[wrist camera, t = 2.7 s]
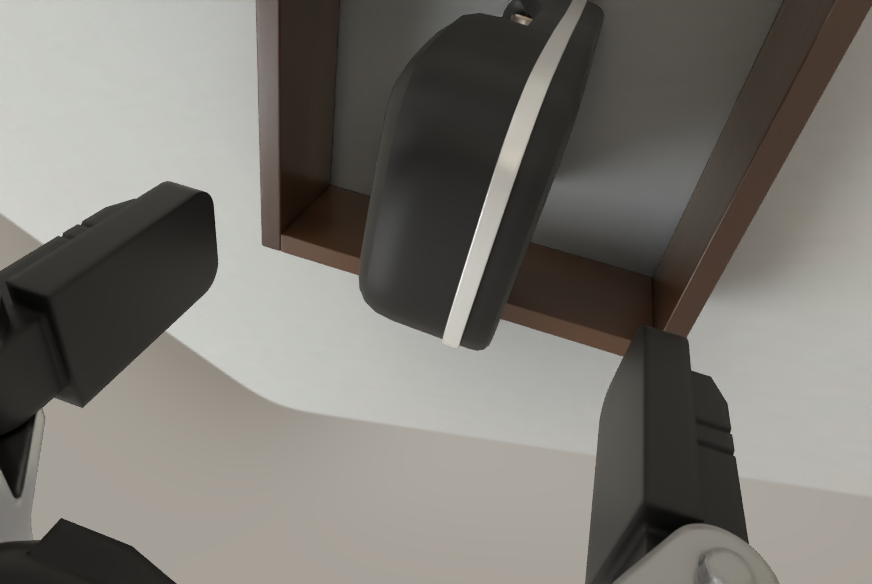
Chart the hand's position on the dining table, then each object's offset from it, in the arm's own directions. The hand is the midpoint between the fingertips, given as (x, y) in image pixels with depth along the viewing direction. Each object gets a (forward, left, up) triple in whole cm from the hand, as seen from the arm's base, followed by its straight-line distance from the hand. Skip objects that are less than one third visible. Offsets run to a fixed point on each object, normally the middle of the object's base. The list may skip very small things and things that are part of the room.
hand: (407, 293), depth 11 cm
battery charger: (0, 0, -13) cm, 13 cm away
